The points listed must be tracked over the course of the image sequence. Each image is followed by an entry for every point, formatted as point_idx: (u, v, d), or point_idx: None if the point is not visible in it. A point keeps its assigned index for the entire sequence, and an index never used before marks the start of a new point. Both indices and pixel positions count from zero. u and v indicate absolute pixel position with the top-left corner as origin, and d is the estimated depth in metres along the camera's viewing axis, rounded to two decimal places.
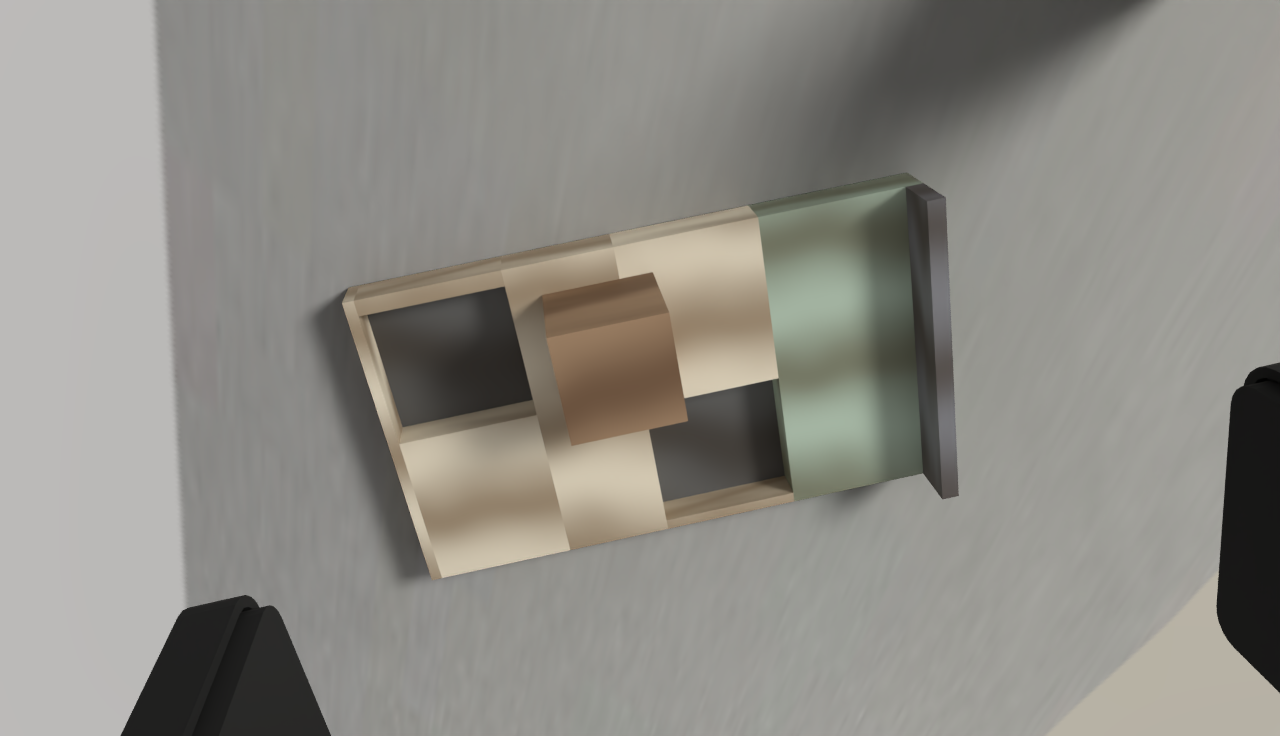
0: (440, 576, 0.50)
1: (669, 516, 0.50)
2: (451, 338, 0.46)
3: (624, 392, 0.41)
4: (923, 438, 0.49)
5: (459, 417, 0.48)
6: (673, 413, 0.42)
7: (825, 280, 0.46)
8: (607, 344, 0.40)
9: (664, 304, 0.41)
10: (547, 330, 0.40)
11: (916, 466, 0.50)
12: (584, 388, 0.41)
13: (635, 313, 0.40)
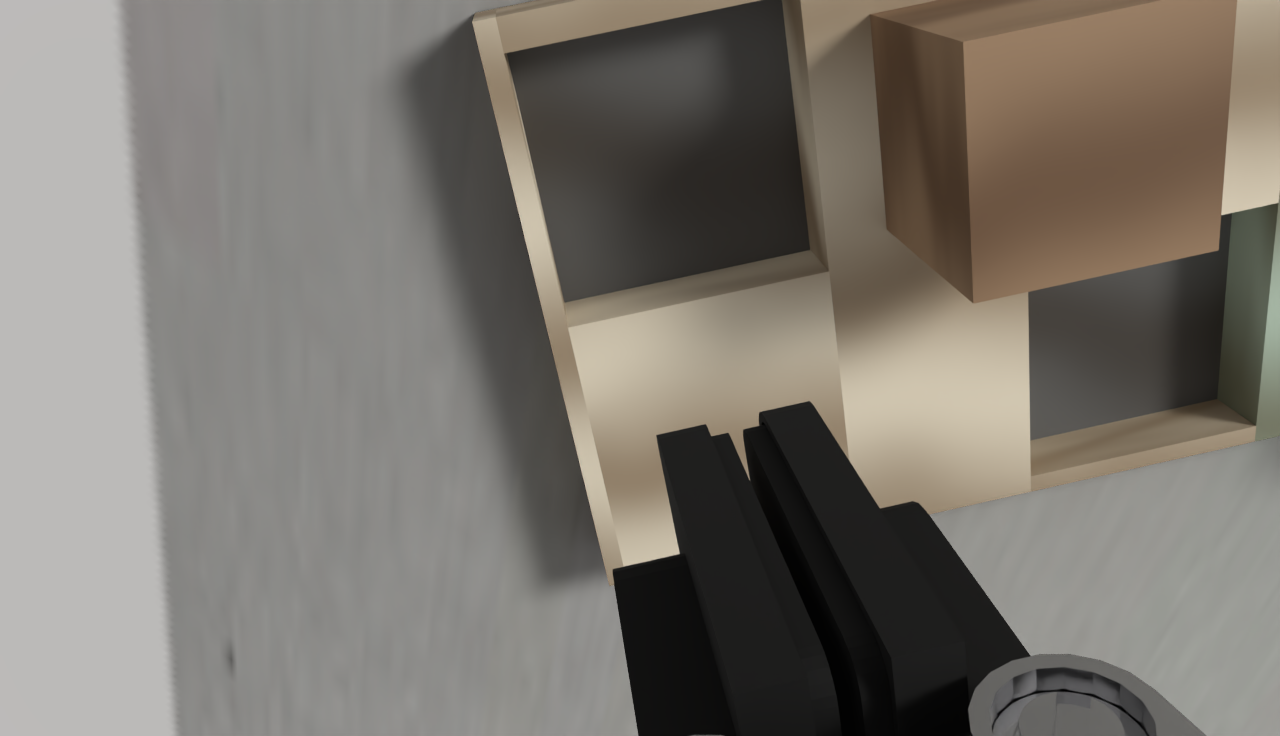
0: None
1: (1033, 469, 0.28)
2: (667, 123, 0.24)
3: (1103, 182, 0.19)
4: None
5: (671, 282, 0.26)
6: (1193, 232, 0.20)
7: None
8: (1092, 63, 0.18)
9: None
10: (950, 35, 0.18)
11: None
12: (1023, 168, 0.19)
13: None
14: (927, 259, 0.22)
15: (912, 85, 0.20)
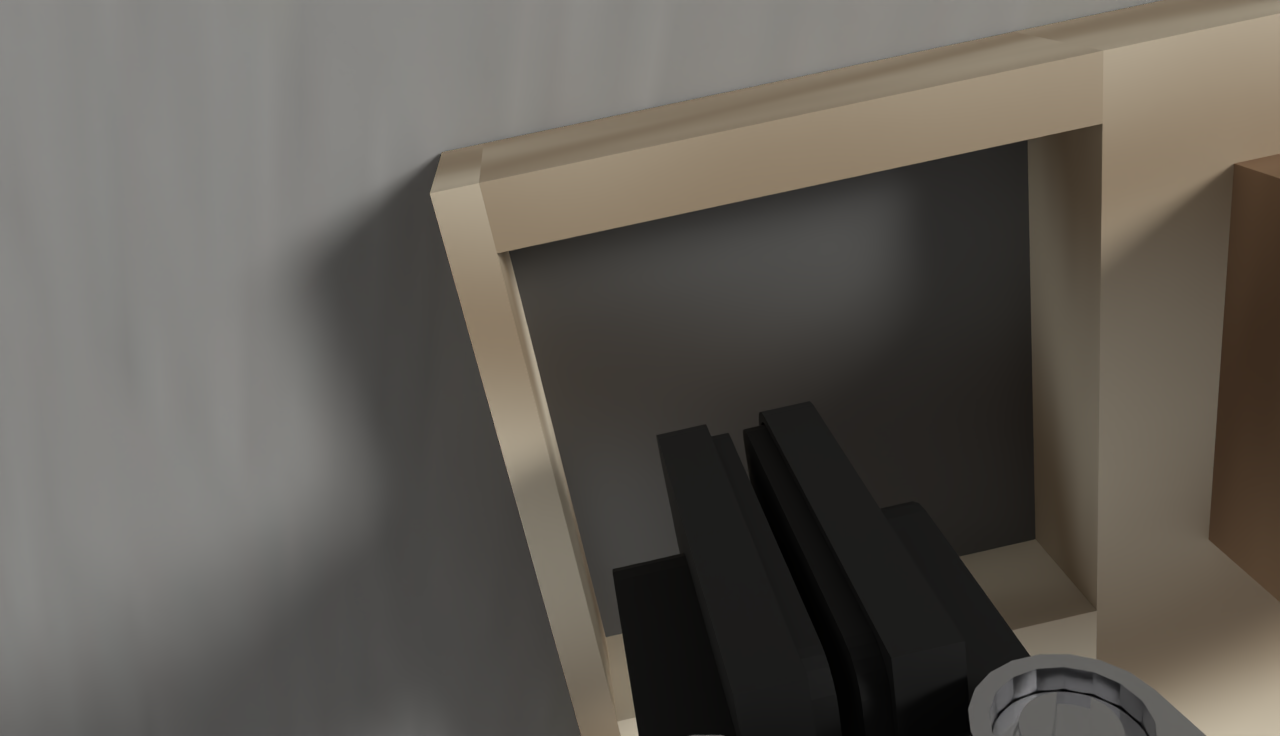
0: None
1: None
2: (800, 343, 0.13)
3: None
4: None
5: None
6: None
7: None
8: None
9: None
10: None
11: None
12: None
13: None
14: None
15: None
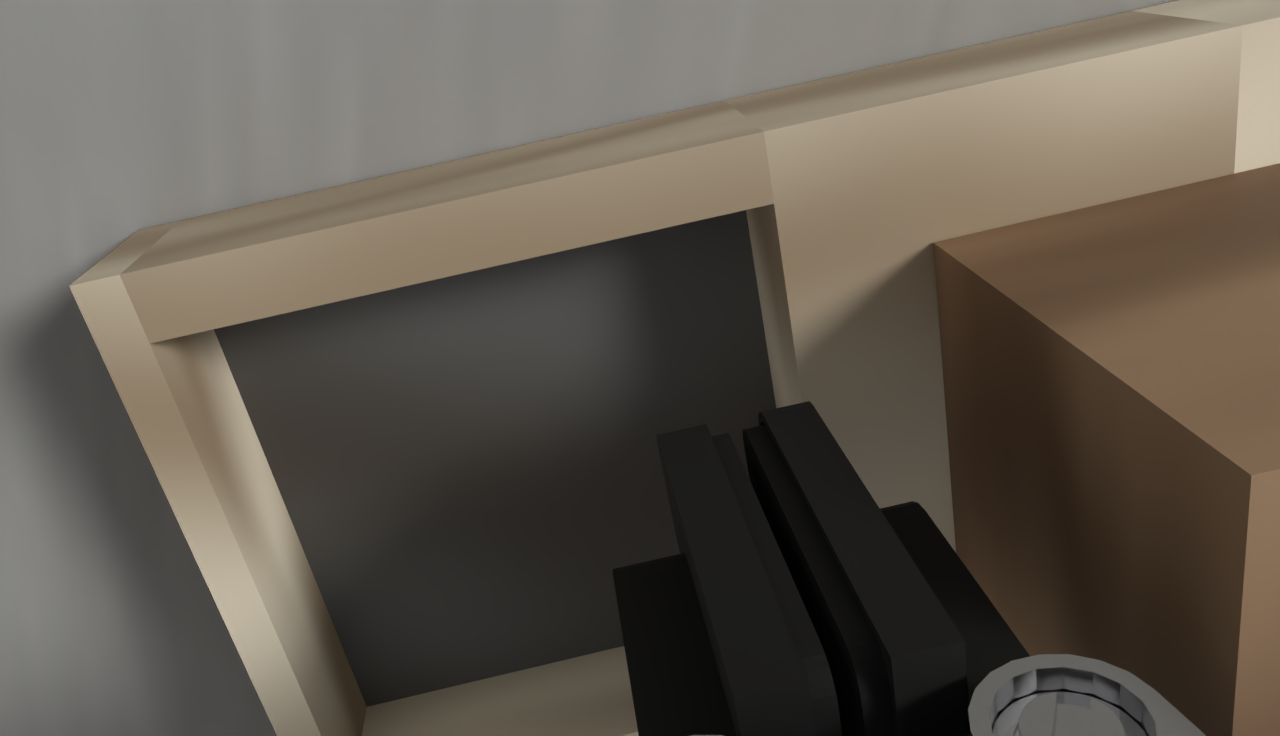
0: None
1: None
2: (532, 414, 0.13)
3: None
4: None
5: (557, 674, 0.14)
6: None
7: None
8: None
9: None
10: (1186, 416, 0.07)
11: None
12: None
13: None
14: None
15: (1043, 439, 0.09)
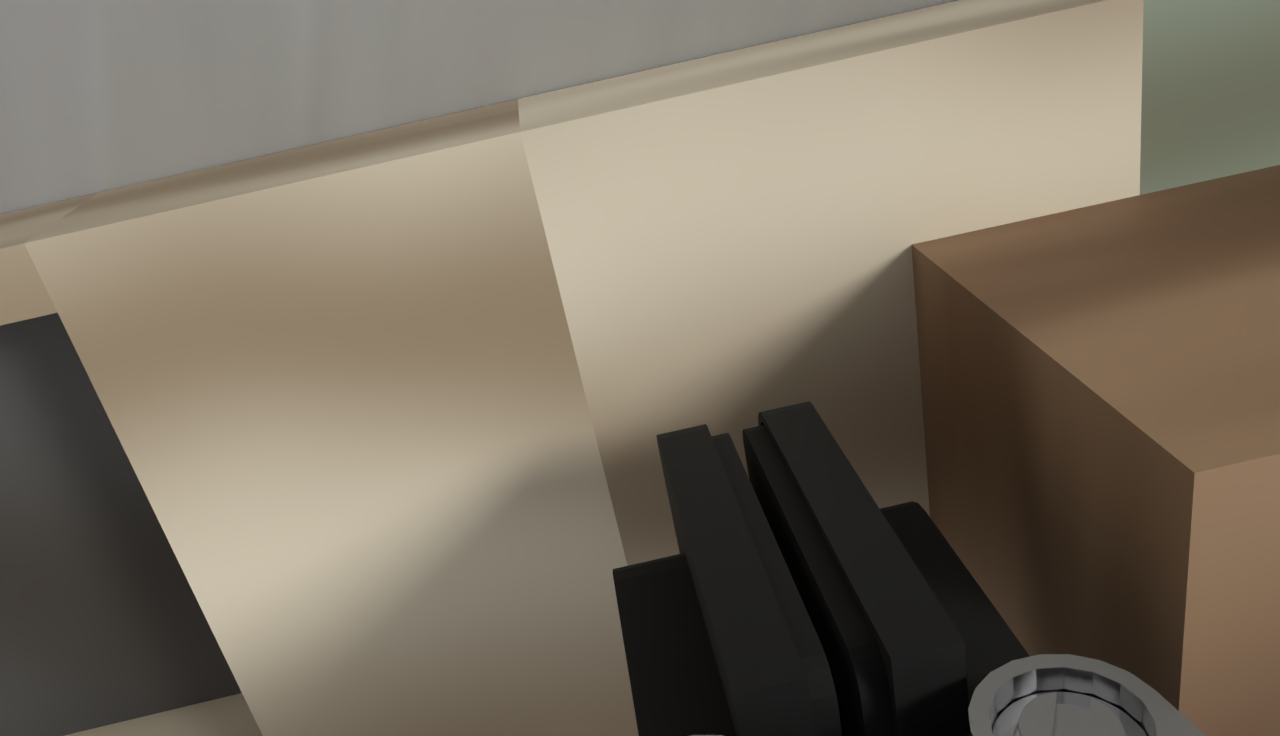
0: None
1: None
2: None
3: None
4: None
5: None
6: None
7: None
8: None
9: None
10: (1138, 416, 0.07)
11: None
12: None
13: None
14: None
15: (1011, 436, 0.09)
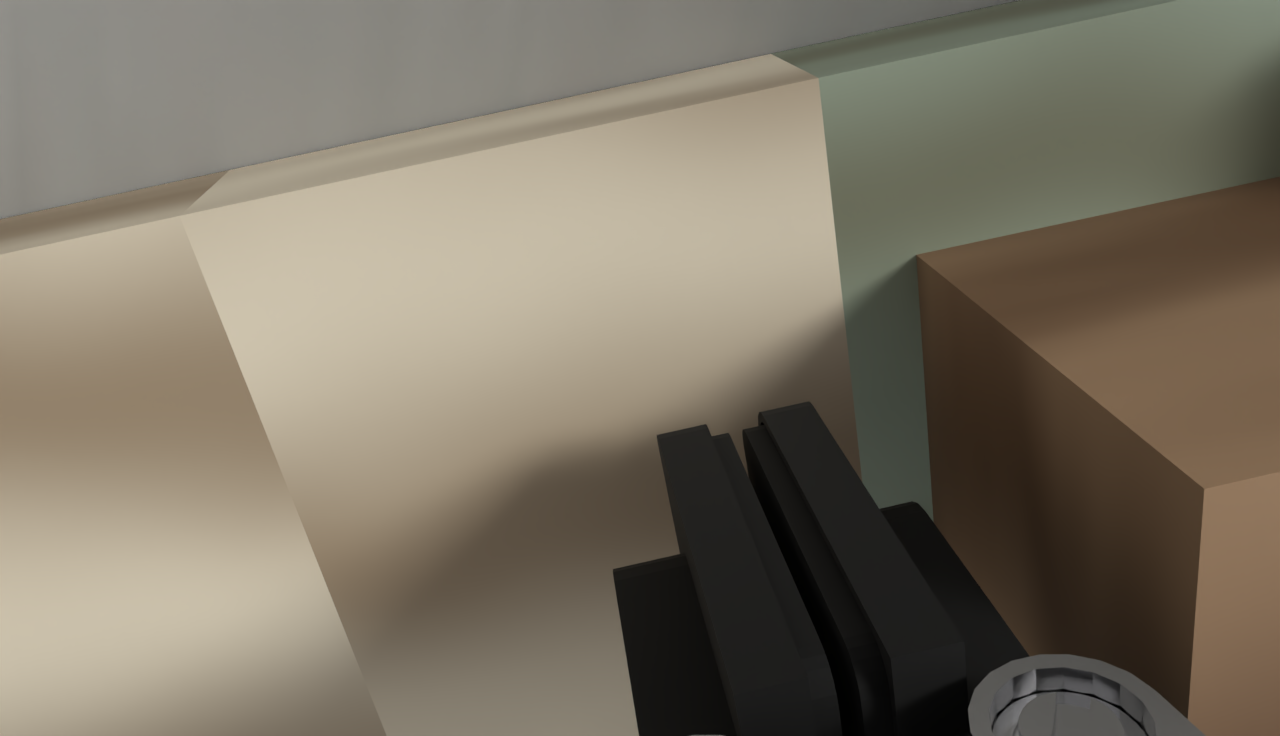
0: None
1: None
2: None
3: None
4: None
5: None
6: None
7: None
8: None
9: None
10: (1147, 431, 0.07)
11: None
12: None
13: None
14: None
15: (1016, 448, 0.09)
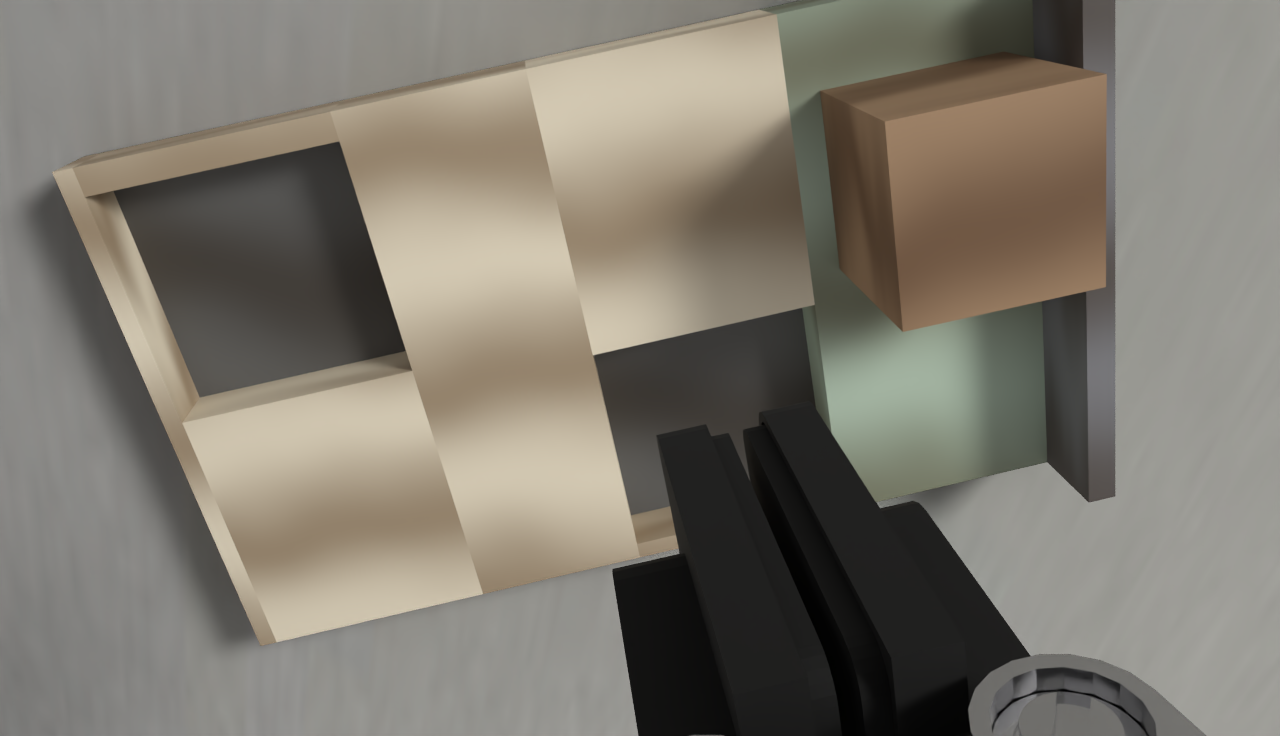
0: (273, 639, 0.31)
1: (642, 537, 0.31)
2: (267, 244, 0.28)
3: (1006, 231, 0.23)
4: (1051, 404, 0.30)
5: (290, 379, 0.29)
6: (1083, 272, 0.24)
7: None
8: (991, 136, 0.22)
9: (1081, 69, 0.23)
10: (876, 115, 0.22)
11: (1037, 451, 0.31)
12: (938, 222, 0.23)
13: (1034, 83, 0.22)
14: (869, 295, 0.26)
15: (852, 151, 0.25)
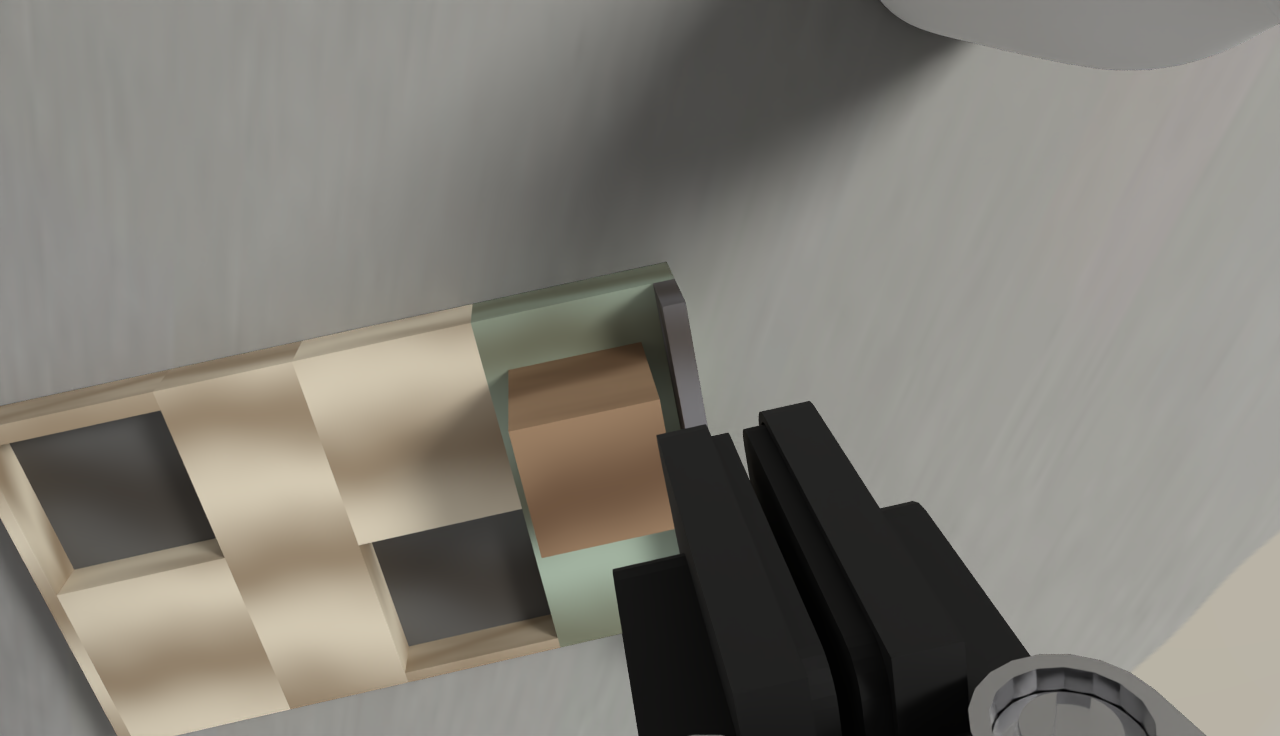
0: None
1: (410, 666, 0.42)
2: (119, 466, 0.38)
3: (605, 494, 0.34)
4: None
5: (140, 557, 0.40)
6: (665, 518, 0.34)
7: None
8: (584, 438, 0.33)
9: (654, 387, 0.33)
10: (510, 420, 0.33)
11: None
12: (556, 490, 0.33)
13: (618, 399, 0.33)
14: None
15: None
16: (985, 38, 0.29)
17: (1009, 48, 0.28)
